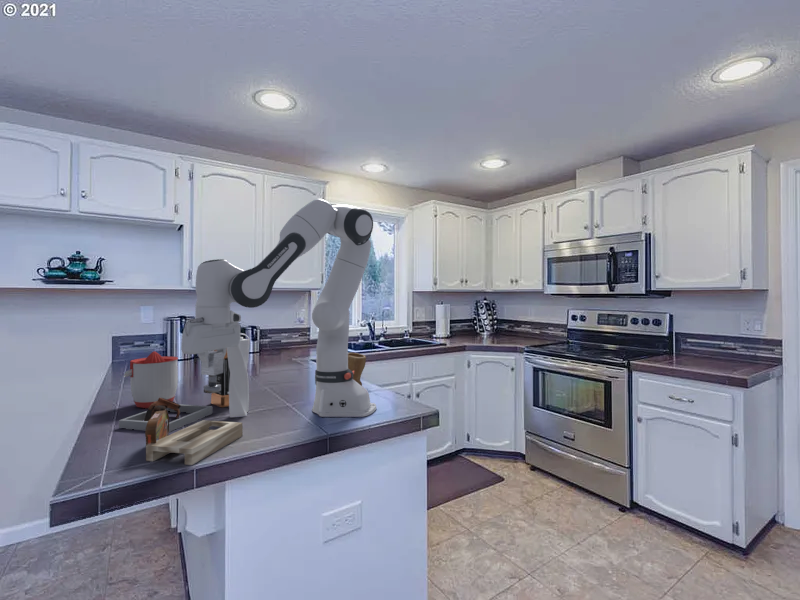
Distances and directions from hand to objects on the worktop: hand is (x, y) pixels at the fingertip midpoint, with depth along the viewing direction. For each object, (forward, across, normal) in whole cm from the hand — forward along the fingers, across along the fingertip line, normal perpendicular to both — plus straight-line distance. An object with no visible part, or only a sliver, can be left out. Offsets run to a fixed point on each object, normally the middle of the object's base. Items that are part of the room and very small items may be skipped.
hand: (212, 366), depth 110 cm
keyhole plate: (+21, -6, 0) cm, 21 cm away
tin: (+20, -9, +10) cm, 24 cm away
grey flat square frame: (+21, +12, +26) cm, 35 cm away
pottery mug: (+21, +12, +28) cm, 37 cm away
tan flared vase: (+20, +69, -18) cm, 74 cm away
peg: (+7, 0, 0) cm, 7 cm away
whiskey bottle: (+21, +35, +20) cm, 45 cm away
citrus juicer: (+22, +27, +47) cm, 58 cm away
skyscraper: (+21, +22, +7) cm, 31 cm away
